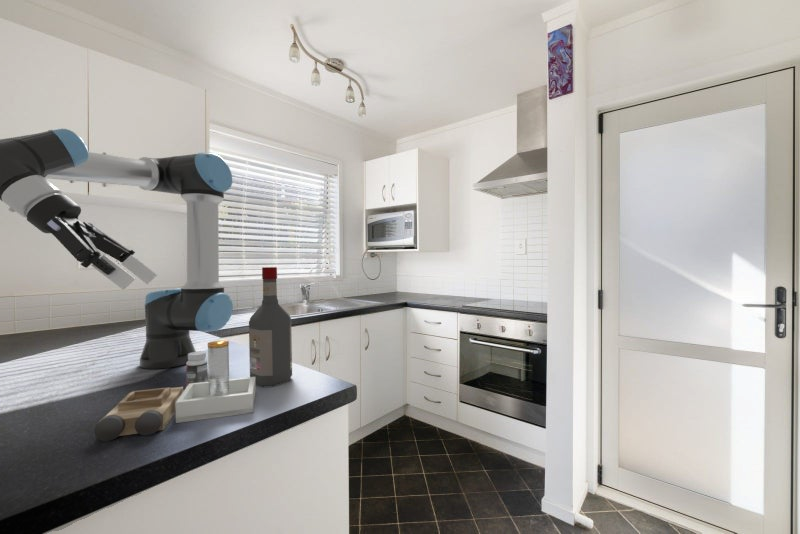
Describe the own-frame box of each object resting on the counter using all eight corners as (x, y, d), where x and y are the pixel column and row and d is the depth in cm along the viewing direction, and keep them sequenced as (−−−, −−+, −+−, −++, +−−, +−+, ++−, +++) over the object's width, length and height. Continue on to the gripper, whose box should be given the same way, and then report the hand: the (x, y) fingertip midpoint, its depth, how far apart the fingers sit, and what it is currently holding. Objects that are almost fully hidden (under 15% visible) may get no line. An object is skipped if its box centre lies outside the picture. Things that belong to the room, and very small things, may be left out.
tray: (189, 401, 83) (189, 383, 83) (255, 393, 87) (255, 376, 87) (175, 423, 71) (175, 402, 71) (252, 412, 76) (252, 393, 76)
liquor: (265, 389, 90) (263, 267, 90) (246, 382, 96) (243, 267, 95) (296, 379, 97) (294, 266, 97) (276, 373, 103) (274, 267, 102)
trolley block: (131, 405, 80) (131, 385, 80) (183, 399, 84) (183, 380, 84) (94, 442, 64) (93, 417, 64) (160, 433, 67) (160, 409, 67)
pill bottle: (182, 387, 92) (181, 354, 92) (200, 381, 97) (199, 350, 97) (194, 389, 90) (193, 356, 90) (211, 384, 94) (211, 351, 94)
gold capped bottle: (210, 399, 81) (209, 341, 80) (230, 397, 82) (229, 339, 82) (207, 406, 77) (206, 345, 77) (228, 404, 78) (227, 343, 78)
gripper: (63, 225, 80) (147, 289, 86) (-23, 212, 57) (99, 302, 62) (92, 201, 82) (172, 266, 87) (19, 179, 58) (134, 270, 64)
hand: (142, 281), depth 75 cm, fingers open, 13 cm apart
